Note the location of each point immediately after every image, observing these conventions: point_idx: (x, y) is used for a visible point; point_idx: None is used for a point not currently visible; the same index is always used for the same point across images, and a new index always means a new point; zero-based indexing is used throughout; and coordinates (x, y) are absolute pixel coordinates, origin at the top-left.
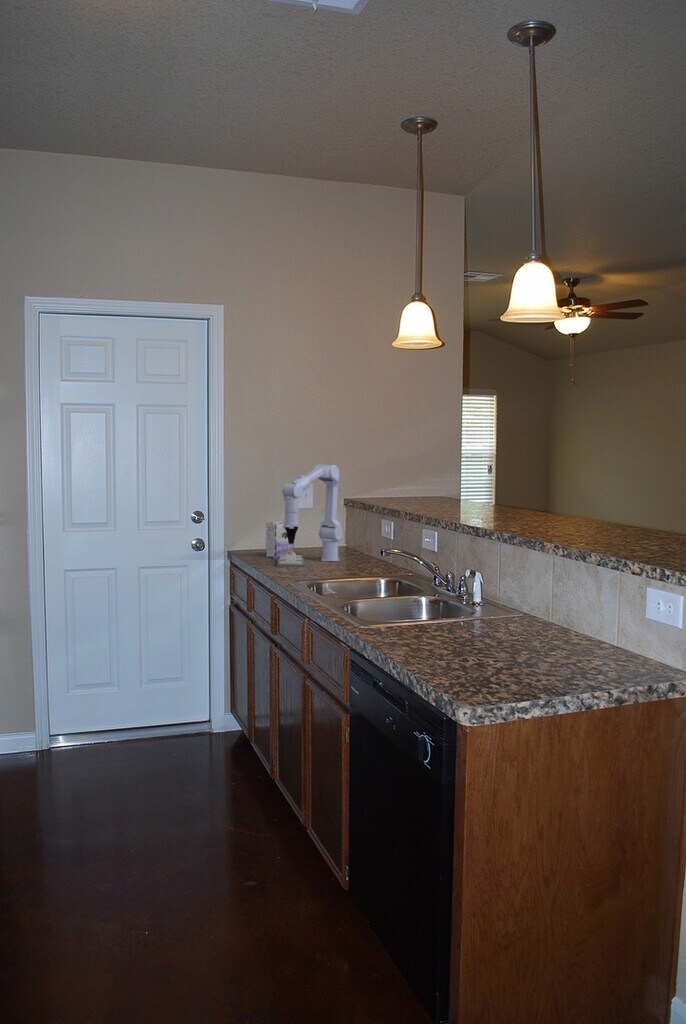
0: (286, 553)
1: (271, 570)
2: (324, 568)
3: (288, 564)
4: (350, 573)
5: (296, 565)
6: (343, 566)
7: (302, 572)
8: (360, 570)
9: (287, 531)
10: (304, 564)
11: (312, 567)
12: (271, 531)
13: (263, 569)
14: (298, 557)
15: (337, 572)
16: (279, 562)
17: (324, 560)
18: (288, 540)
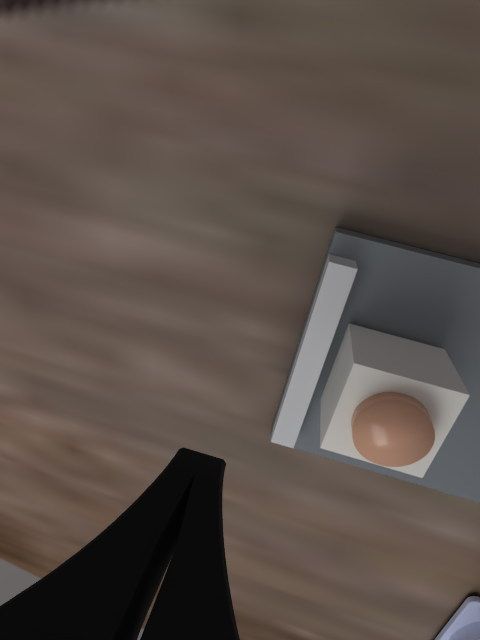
0: (434, 390)
1: (110, 119)
2: None
3: (303, 330)
4: (17, 544)
5: (286, 383)
6: (235, 602)
7: (27, 340)
8: None
9: (4, 621)
10: (270, 437)
11: (225, 459)
12: None
13: (170, 41)
14: None
15: (41, 508)
16: (329, 259)
17: (462, 608)
18: (159, 478)
